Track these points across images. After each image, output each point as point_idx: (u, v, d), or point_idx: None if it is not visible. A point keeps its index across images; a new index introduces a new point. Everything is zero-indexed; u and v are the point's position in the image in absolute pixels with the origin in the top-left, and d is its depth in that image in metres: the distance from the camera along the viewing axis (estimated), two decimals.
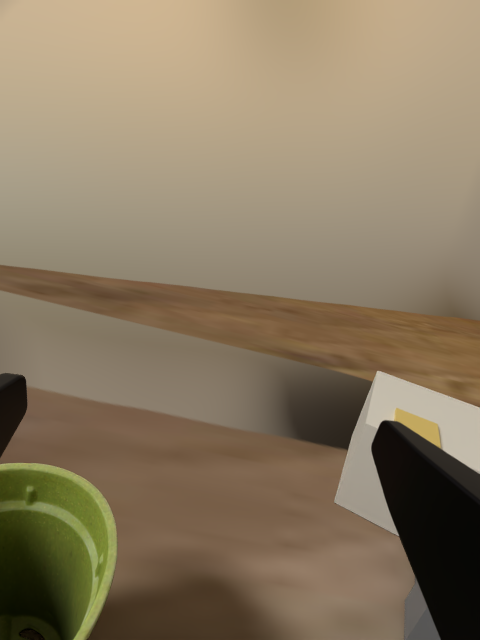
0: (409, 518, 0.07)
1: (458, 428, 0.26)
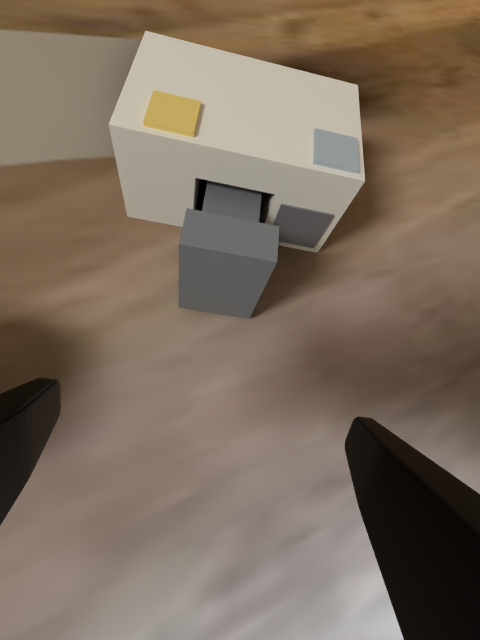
0: (377, 515, 0.07)
1: (228, 100, 0.22)
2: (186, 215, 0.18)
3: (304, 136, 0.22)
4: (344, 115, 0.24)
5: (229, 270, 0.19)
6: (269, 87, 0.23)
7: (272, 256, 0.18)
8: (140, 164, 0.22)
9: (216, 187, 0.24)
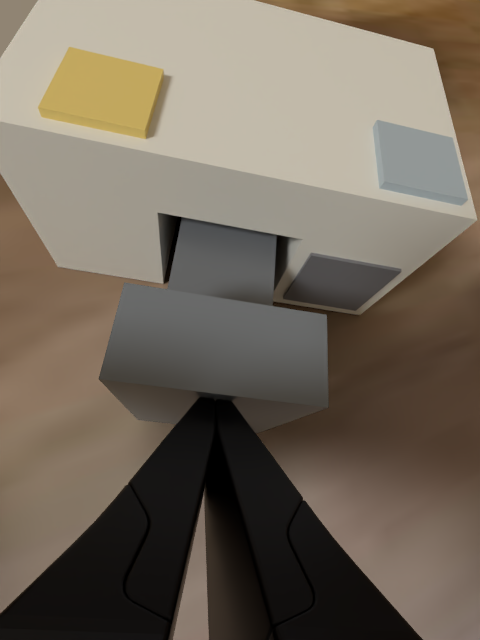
0: (208, 501, 0.07)
1: (216, 70, 0.12)
2: (122, 301, 0.08)
3: (357, 136, 0.12)
4: (420, 97, 0.13)
5: None
6: (290, 49, 0.13)
7: (317, 393, 0.08)
8: (54, 191, 0.12)
9: None
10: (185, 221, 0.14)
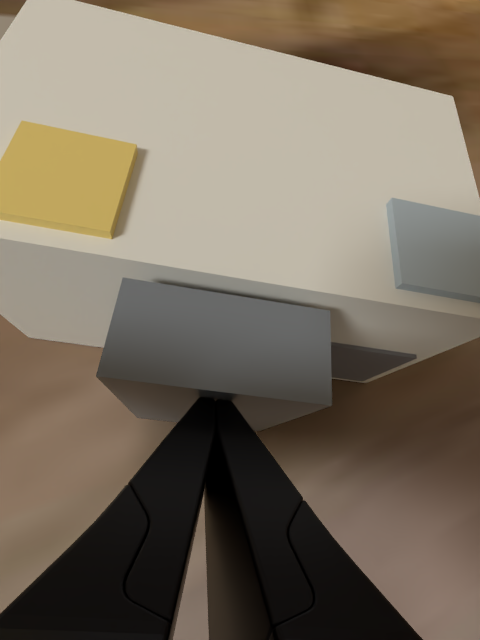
0: (208, 501, 0.07)
1: (201, 139, 0.10)
2: (121, 296, 0.08)
3: (368, 217, 0.10)
4: (439, 160, 0.12)
5: None
6: (289, 105, 0.11)
7: (320, 390, 0.08)
8: (10, 283, 0.10)
9: None
10: None
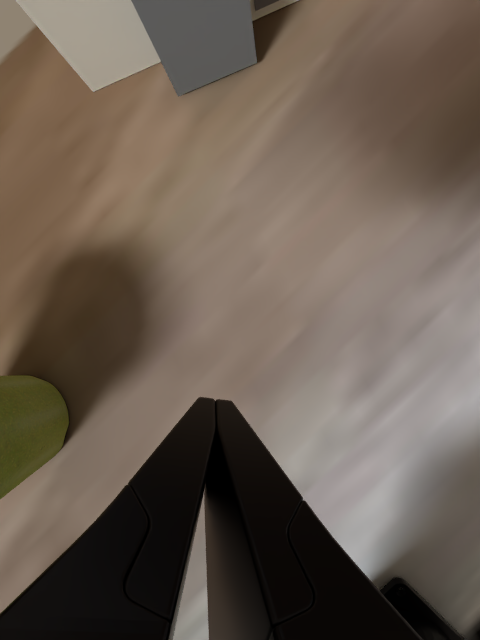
0: (208, 501, 0.07)
1: None
2: None
3: None
4: None
5: None
6: None
7: None
8: (57, 2, 0.16)
9: None
10: None
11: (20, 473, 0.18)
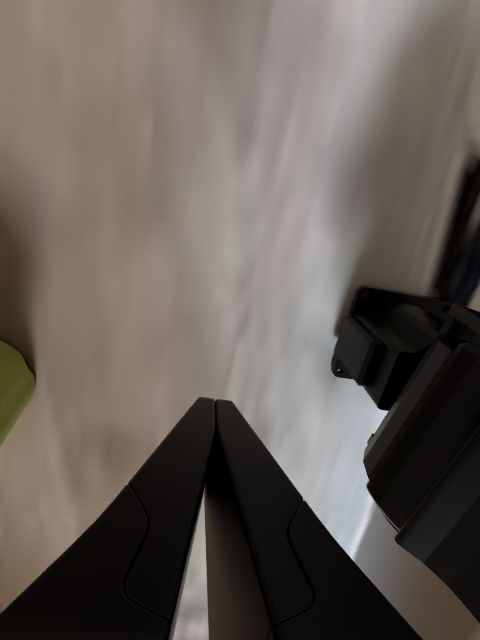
0: (208, 501, 0.07)
1: None
2: None
3: None
4: None
5: None
6: None
7: None
8: None
9: None
10: None
11: None
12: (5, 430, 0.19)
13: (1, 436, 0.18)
